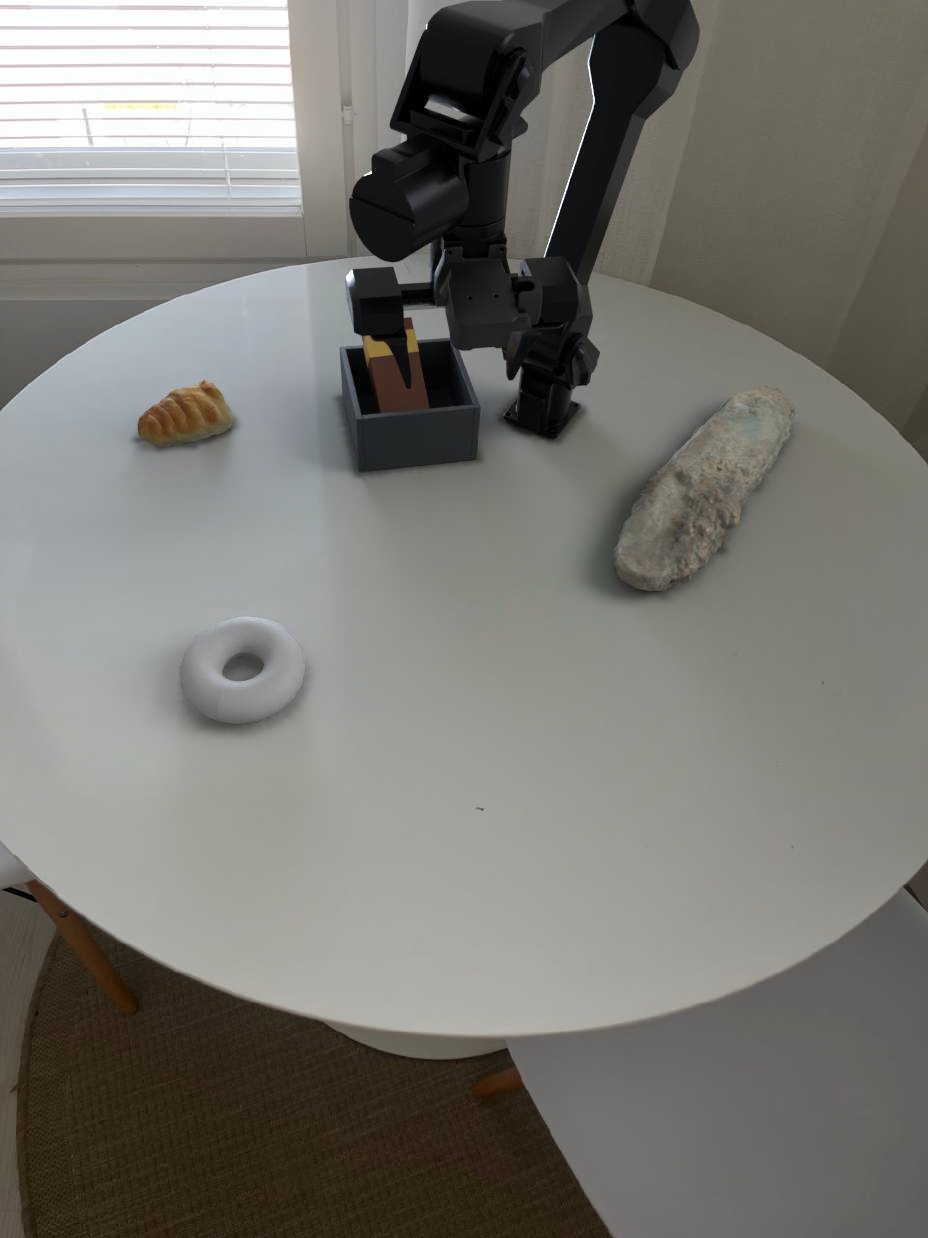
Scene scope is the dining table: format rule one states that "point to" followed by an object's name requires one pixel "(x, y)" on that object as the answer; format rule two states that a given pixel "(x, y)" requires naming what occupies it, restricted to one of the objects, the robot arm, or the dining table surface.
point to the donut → (248, 696)
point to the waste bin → (413, 412)
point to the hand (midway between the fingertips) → (459, 381)
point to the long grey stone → (702, 490)
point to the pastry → (186, 416)
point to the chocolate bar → (395, 375)
